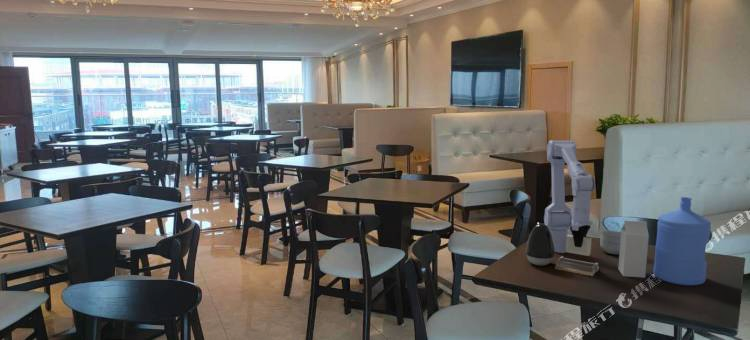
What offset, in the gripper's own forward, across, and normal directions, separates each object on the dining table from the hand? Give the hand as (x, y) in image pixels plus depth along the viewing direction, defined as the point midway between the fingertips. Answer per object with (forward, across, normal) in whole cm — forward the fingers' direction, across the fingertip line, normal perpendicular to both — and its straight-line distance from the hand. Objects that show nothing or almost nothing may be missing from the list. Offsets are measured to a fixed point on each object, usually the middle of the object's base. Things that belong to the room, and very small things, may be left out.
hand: (579, 245), depth 192 cm
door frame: (+8, -1, 0) cm, 9 cm away
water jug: (+9, +10, -31) cm, 34 cm away
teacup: (+9, +27, -8) cm, 30 cm away
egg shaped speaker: (+9, -2, +13) cm, 16 cm away
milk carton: (+9, +5, -17) cm, 20 cm away
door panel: (+3, 0, 0) cm, 3 cm away
